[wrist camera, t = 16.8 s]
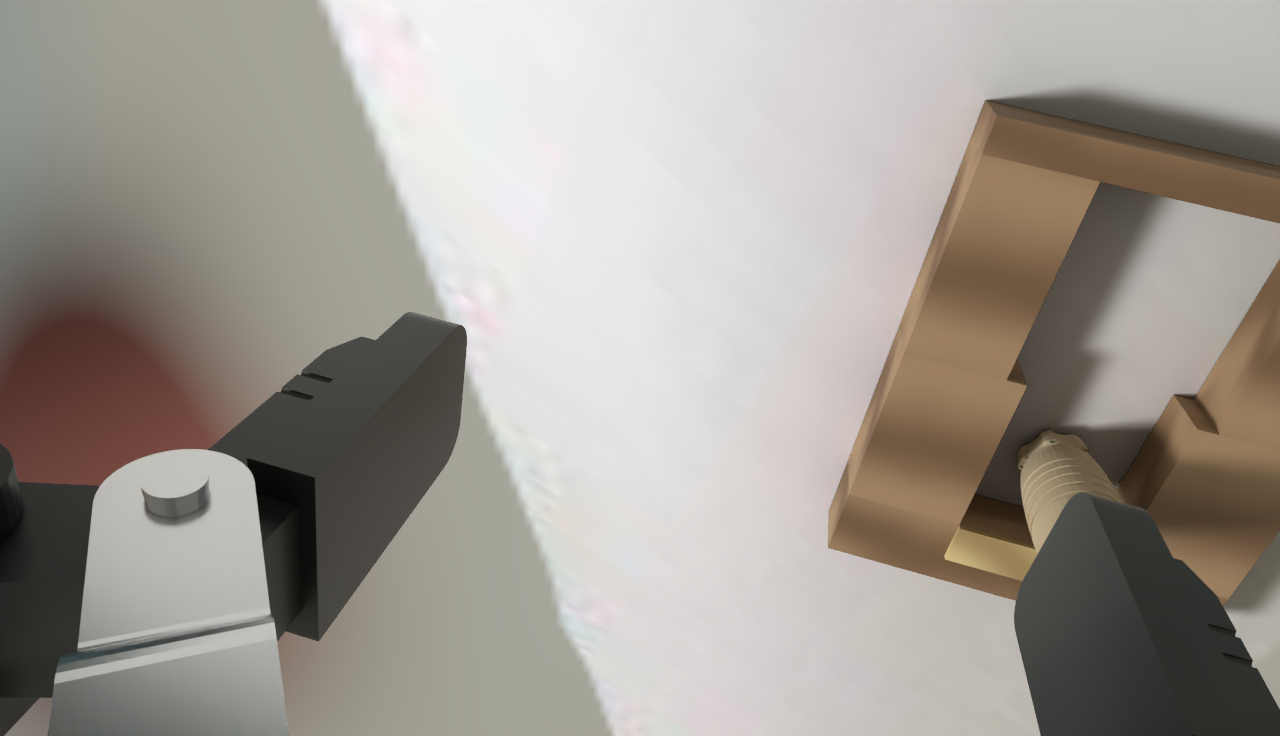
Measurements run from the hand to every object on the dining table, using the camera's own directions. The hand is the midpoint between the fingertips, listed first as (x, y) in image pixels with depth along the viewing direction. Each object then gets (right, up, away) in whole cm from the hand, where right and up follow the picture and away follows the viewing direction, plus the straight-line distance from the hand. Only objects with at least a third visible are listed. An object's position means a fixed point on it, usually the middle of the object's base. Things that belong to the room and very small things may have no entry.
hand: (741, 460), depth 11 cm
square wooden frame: (+19, +1, +28) cm, 34 cm away
